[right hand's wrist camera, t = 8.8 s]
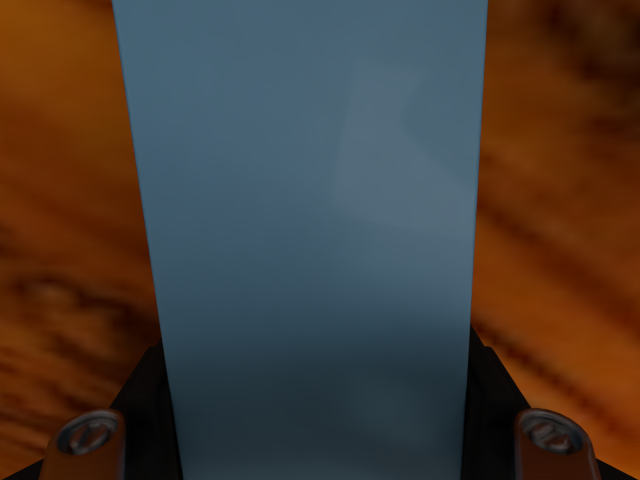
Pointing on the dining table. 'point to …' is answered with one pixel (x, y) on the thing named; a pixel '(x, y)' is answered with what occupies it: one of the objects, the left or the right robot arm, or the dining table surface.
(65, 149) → the dining table surface
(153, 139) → the blue slab
